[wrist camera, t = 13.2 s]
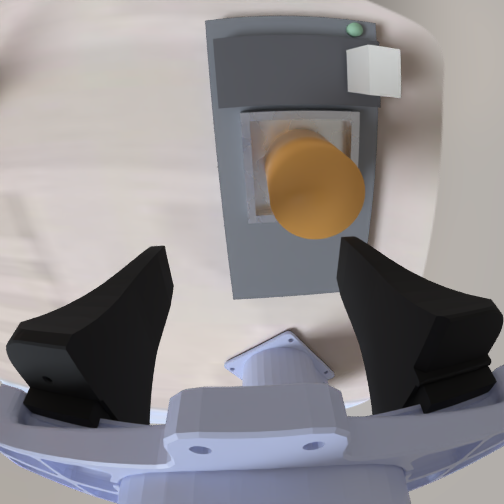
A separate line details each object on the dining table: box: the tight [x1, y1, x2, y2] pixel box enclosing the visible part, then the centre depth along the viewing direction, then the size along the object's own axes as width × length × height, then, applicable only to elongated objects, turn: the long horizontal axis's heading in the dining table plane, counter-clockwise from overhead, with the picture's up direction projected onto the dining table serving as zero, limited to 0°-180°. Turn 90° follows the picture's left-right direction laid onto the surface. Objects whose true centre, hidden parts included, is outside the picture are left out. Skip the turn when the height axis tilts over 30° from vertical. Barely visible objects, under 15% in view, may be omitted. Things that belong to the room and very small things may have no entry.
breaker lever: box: [346, 45, 401, 98], centre depth 12 cm, size 2×2×3 cm
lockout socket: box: [240, 109, 360, 224], centre depth 18 cm, size 7×7×1 cm
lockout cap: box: [265, 129, 365, 239], centre depth 16 cm, size 4×4×6 cm
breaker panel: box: [205, 16, 380, 300], centre depth 18 cm, size 20×10×3 cm, turn 4°
